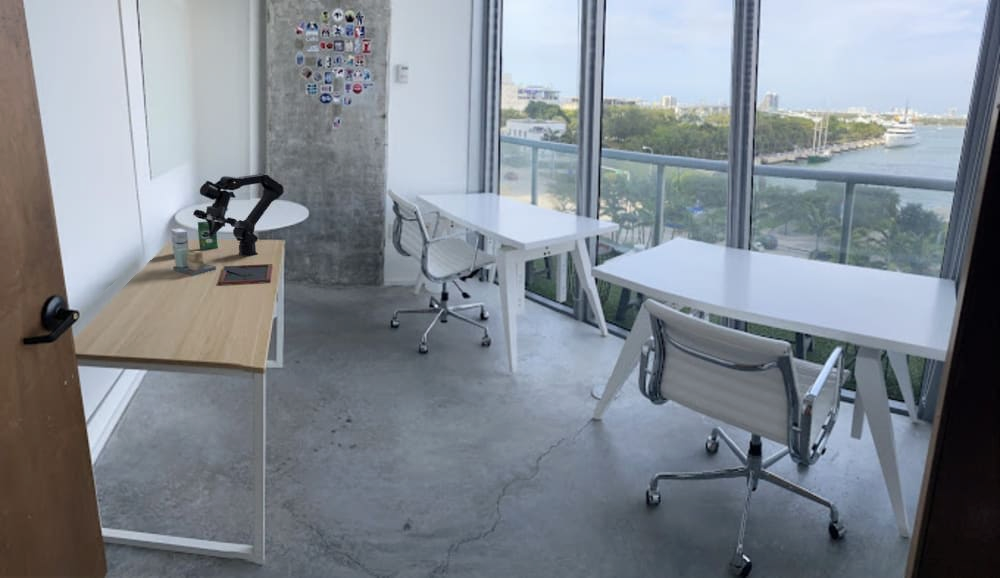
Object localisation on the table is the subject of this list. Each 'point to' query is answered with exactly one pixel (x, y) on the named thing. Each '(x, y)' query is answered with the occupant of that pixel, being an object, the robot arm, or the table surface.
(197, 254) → the wooden button block
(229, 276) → the picture frame
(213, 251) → the table surface
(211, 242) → the coffee box
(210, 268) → the key base
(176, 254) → the two-stud toy brick
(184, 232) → the ink box
